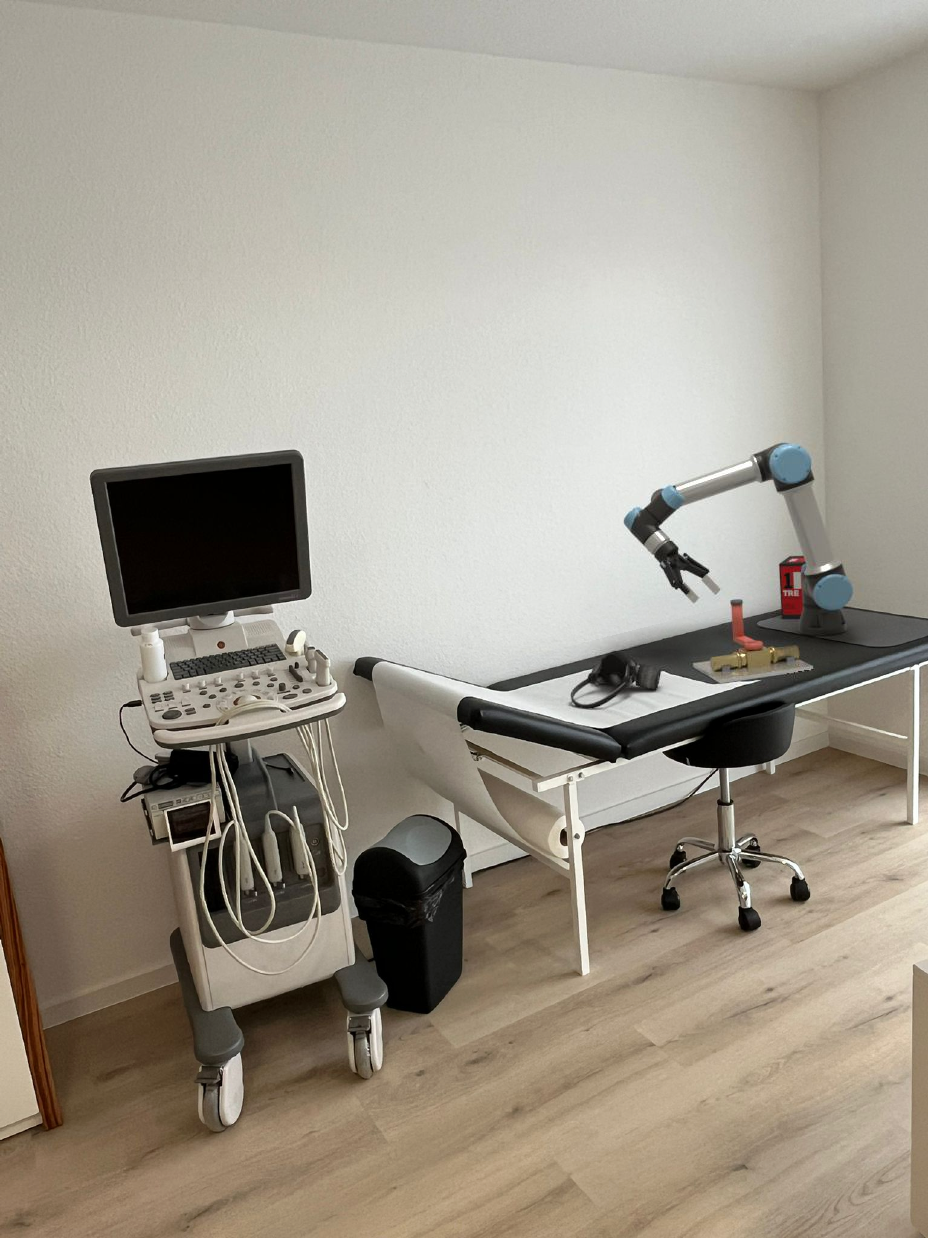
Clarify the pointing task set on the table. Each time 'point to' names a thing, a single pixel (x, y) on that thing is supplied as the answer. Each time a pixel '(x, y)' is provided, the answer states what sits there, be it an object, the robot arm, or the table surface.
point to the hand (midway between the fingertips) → (707, 596)
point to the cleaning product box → (791, 587)
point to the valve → (753, 664)
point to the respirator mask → (618, 676)
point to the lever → (741, 627)
